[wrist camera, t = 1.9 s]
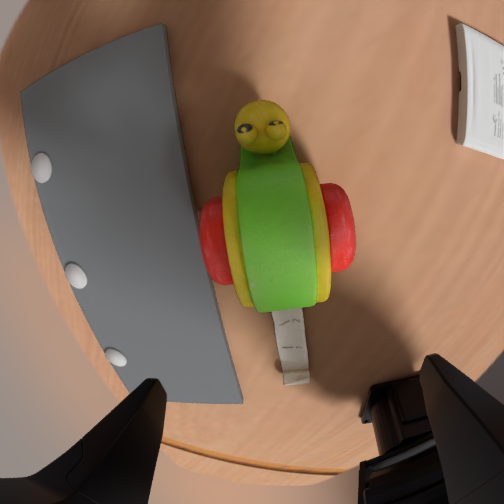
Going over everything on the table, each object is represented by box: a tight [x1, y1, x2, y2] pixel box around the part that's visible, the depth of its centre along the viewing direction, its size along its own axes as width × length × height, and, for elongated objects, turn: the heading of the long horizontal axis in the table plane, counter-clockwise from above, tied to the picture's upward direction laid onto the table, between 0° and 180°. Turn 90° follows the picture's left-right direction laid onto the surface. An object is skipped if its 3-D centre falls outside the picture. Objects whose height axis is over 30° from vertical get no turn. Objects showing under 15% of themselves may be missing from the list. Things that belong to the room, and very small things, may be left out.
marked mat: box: [21, 23, 243, 404], centre depth 17 cm, size 28×11×1 cm, turn 8°
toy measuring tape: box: [199, 100, 356, 386], centre depth 15 cm, size 6×20×7 cm, turn 9°
